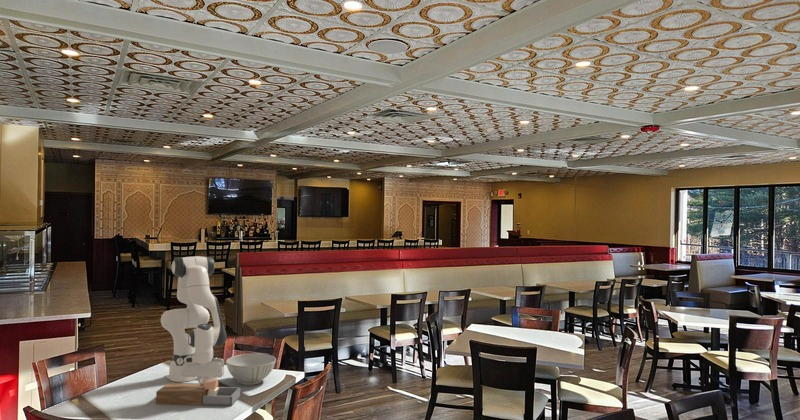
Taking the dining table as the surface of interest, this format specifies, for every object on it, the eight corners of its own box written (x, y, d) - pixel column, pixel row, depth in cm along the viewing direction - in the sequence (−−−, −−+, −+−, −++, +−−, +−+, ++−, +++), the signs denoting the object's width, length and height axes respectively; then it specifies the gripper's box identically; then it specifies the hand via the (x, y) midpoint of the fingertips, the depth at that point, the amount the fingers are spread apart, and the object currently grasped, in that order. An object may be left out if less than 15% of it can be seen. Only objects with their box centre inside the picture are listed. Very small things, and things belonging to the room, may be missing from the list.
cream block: (213, 385, 265) (219, 387, 265) (210, 395, 265) (215, 397, 265) (210, 388, 260) (215, 391, 260) (206, 398, 260) (212, 400, 260)
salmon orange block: (208, 386, 265) (207, 380, 265) (218, 385, 265) (217, 379, 265) (204, 389, 260) (204, 383, 260) (214, 388, 260) (214, 382, 260)
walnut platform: (168, 394, 270) (168, 382, 270) (211, 395, 270) (212, 383, 270) (155, 404, 256) (156, 391, 256) (201, 405, 256) (202, 392, 256)
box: (212, 395, 270) (213, 386, 270) (240, 396, 270) (240, 387, 270) (202, 405, 256) (202, 395, 256) (231, 406, 256) (231, 396, 256)
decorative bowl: (268, 390, 281) (268, 367, 281) (217, 388, 281) (218, 365, 281) (280, 375, 307) (281, 354, 308) (234, 373, 308) (235, 352, 308)
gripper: (226, 356, 266) (225, 384, 266) (185, 355, 266) (185, 383, 266) (222, 359, 260) (221, 388, 260) (180, 358, 260) (179, 387, 260)
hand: (202, 385), depth 263 cm, fingers closed
